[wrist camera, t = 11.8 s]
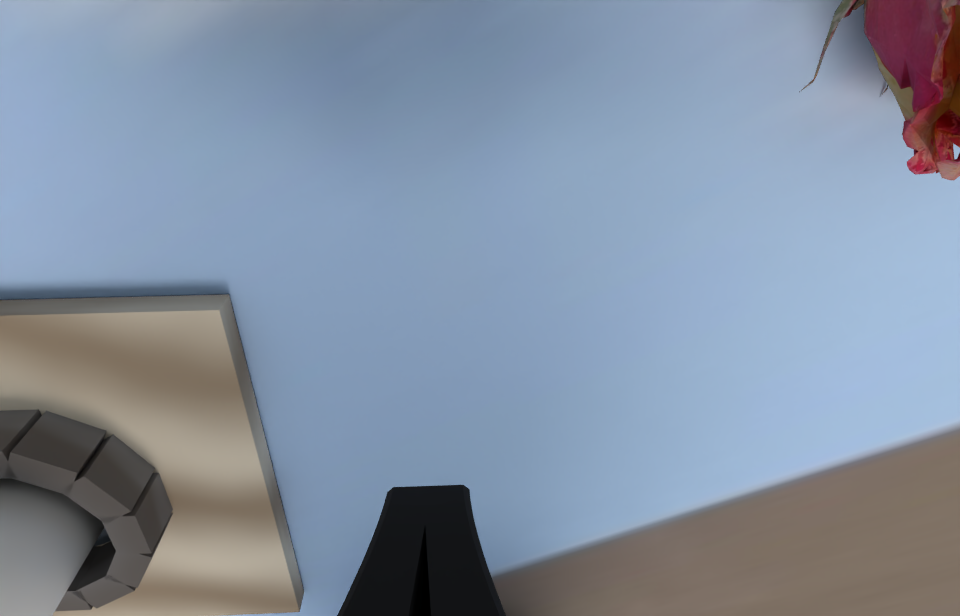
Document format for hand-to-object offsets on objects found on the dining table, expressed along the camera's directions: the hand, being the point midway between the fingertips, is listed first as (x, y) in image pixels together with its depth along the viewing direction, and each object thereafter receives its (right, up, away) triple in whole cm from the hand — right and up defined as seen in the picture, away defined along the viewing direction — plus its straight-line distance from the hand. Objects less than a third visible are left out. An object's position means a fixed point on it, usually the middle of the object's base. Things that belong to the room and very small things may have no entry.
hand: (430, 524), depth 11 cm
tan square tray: (-15, -3, +13) cm, 20 cm away
